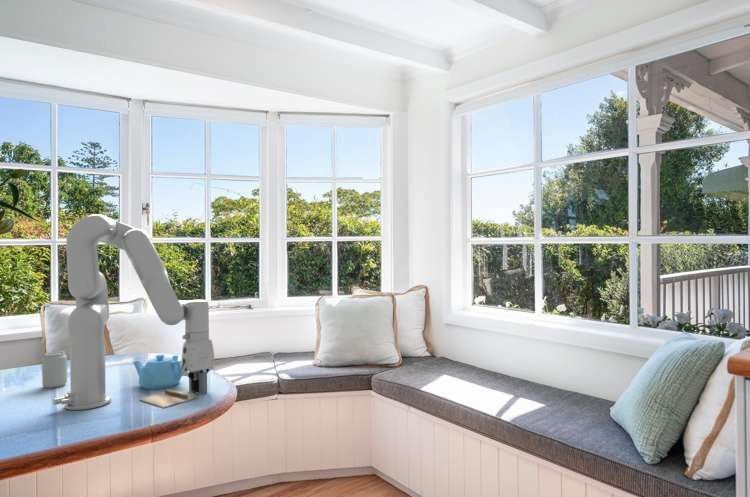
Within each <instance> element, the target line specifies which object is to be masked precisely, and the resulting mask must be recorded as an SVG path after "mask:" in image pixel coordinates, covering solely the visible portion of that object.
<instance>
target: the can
mask: <svg viewBox="0 0 750 497" xmlns="http://www.w3.org/2000/svg"><path fill="white" fill-rule="evenodd" d="M65 353H66V352H65V351H62V350H61V351H59V350H58V351H51V352H47V353H44V356H43V357H42V358H41V361H42V362H41V366H42V368H41V369H42V370H41V372H42V375H41V376H42V377H41V378H42V387H44V388H46V389H55V388H60V387H64V386H65V385H66V384H67V383H68V357H67V356H68V355H67V354H65Z"/></svg>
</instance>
